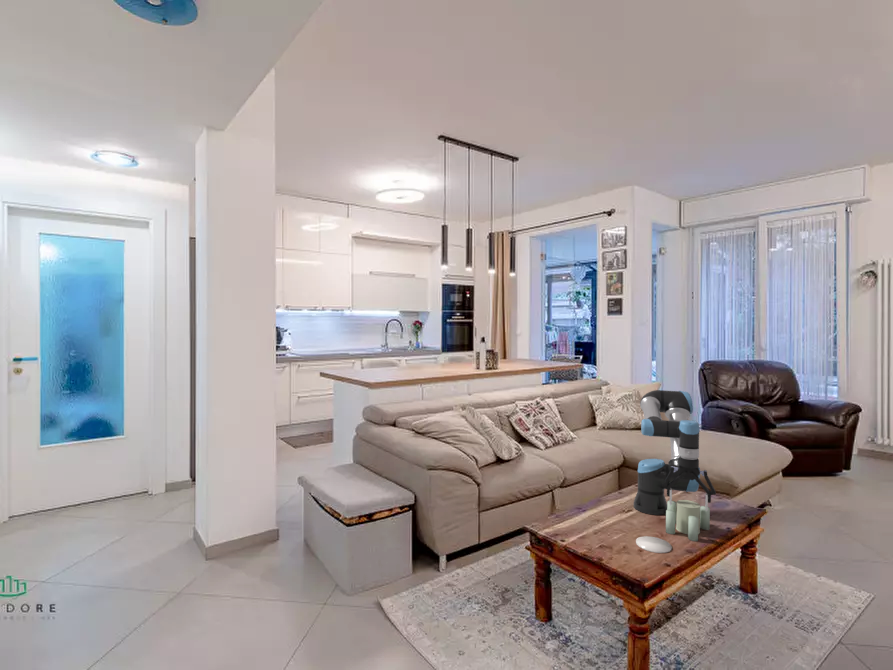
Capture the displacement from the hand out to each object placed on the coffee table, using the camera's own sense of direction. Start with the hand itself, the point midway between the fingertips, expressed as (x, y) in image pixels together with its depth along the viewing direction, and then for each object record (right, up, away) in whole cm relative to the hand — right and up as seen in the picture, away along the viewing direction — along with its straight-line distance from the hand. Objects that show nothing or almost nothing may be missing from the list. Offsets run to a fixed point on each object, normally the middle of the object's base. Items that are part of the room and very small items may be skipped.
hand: (688, 507), depth 199 cm
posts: (0, -10, 0) cm, 10 cm away
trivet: (-21, -10, -13) cm, 27 cm away
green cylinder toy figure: (0, -10, 0) cm, 10 cm away
